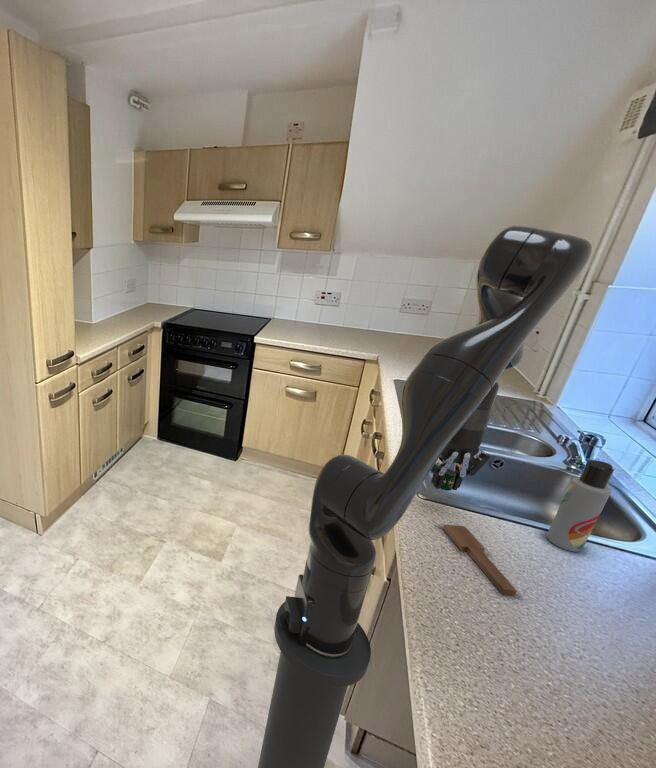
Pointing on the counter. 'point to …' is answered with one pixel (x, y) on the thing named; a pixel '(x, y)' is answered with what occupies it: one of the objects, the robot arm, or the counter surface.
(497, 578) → the spatula
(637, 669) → the counter surface
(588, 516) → the lotion bottle
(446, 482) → the beer can
